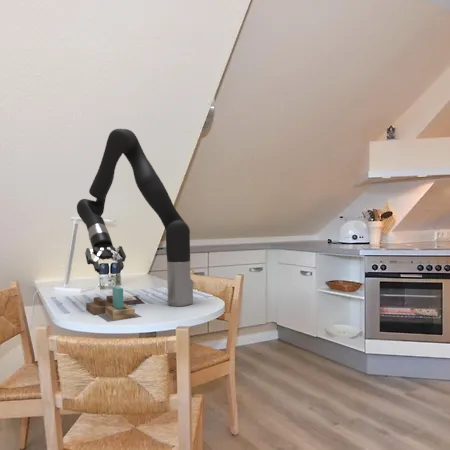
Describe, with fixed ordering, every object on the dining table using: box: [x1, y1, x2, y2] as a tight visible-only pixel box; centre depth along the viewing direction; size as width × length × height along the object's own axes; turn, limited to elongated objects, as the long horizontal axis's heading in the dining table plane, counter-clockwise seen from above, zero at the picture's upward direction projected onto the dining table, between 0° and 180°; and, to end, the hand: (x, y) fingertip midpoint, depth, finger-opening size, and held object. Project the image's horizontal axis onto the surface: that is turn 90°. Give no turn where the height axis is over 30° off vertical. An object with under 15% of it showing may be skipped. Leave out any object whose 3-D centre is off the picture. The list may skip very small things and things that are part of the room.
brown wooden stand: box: [85, 294, 126, 316], centre depth 162 cm, size 12×10×5 cm
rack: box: [105, 304, 136, 321], centre depth 153 cm, size 7×9×3 cm
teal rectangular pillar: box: [111, 285, 124, 310], centre depth 153 cm, size 2×6×10 cm, turn 33°
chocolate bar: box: [123, 295, 146, 306], centre depth 180 cm, size 9×1×18 cm
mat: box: [97, 312, 142, 323], centre depth 153 cm, size 12×12×1 cm
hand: (110, 270), depth 160 cm, fingers open, 8 cm apart
